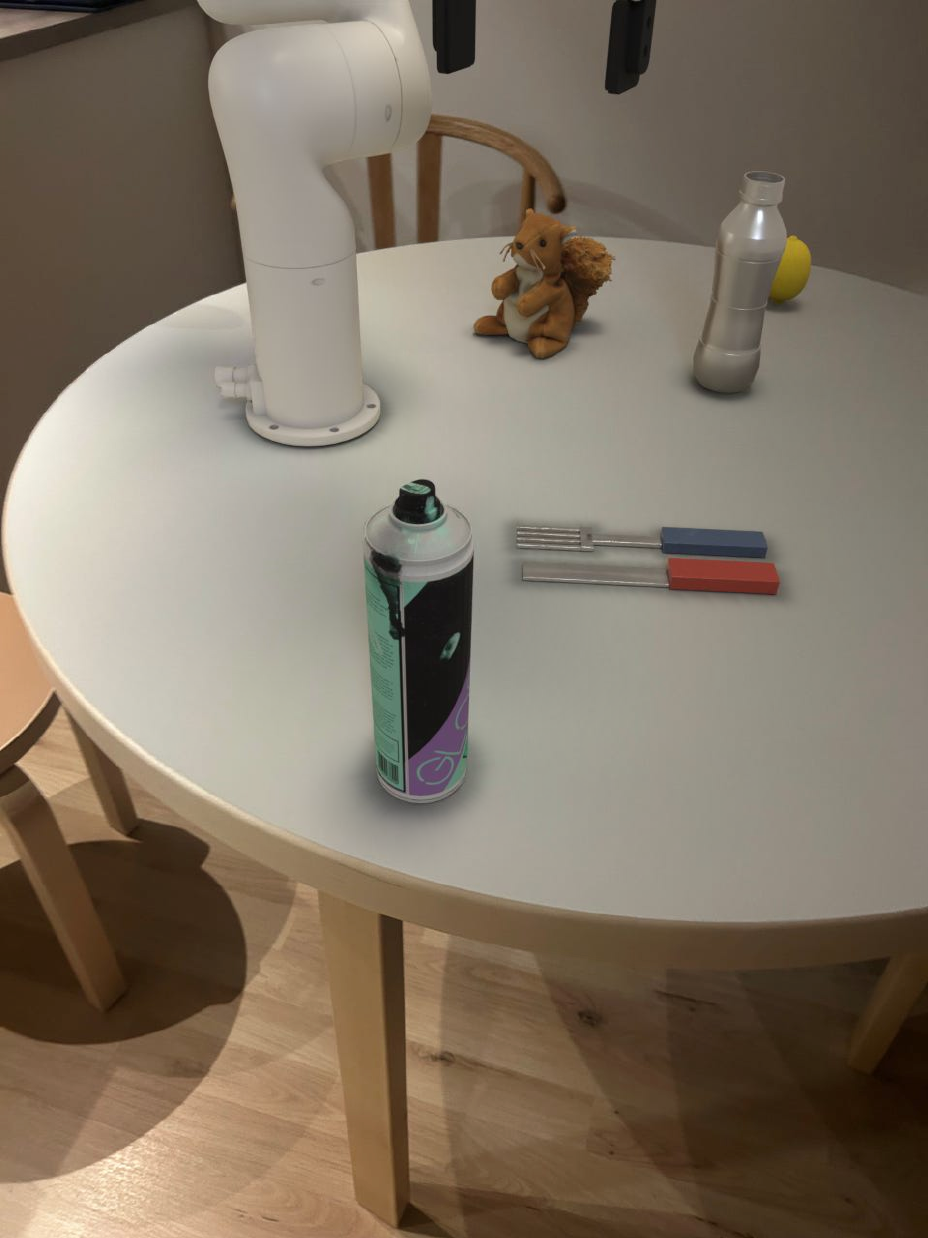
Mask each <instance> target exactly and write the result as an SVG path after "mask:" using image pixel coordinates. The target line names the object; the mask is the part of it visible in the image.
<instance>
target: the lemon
mask: <svg viewBox="0 0 928 1238" xmlns="http://www.w3.org/2000/svg"><path fill="white" fill-rule="evenodd" d="M811 271H812V255H811V251H810V249H809V248H808V246H807V244H806V243H805V242H803V241H802V240H801V239H798V237H797V236H796V235H790V236H789V237H787V244H786V248H785V251H784V254H783V256H782V259H781V262H780V265H779V267H778V270H777V273H776V275H775V278H774V281H773V284H772V287H771V291H770V295H769V298H768V299H771V300H772V301H773V304H775V305H781V304H783V303H784V302H786V301H787V302H788V301H790V300H793V299H794V298H796V297H797V296H799V295H800V294H801V293H802V292H803V290H804V289H805V288H806V285H807V283H808V281H809V278H810V275H811Z"/></svg>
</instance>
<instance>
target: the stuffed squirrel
mask: <svg viewBox="0 0 928 1238" xmlns="http://www.w3.org/2000/svg"><path fill="white" fill-rule="evenodd" d="M577 232H578V229H577V227H576V226H575V225H563V224H562V223H561V222H560V221H559V219H556V218H554V217H552V216H550V215H547V214H544V213H540V212H535V211H534V209H533V208H528V209H526V211H525V218H524V219H523V221H522V223H521V225H520V227H519V230H518V233H517V234H516V235H515V236H514V238H513V240H512V241H511V242H509V243H507V244H506V245H505V246H503V247H502V249H501V250H500V251H499V253H498V254H499V255H502V254H503V253H504V250H505V249H506V248H507V249H506V251H505V254H504V257H503V258H502V260H501V261H502V263H505V262H506V258H507V256H508V254H509V253H510V256H511V258H512V261H514V262H515V265H514V267H513V268H510V269H508V270H507V271H505V272H504V273H502V274H500V275H498V276H495V277H494V279H493V280H492V283H491V289H490V290H491V293H492V297H493V298H494V299H496V301H501V302H500V304H499V306H498V308H497V309H496V315H493V314H492V315H484V316H480V317H479V318H477V319H476V321H475V322H474V323H473V330H474V332H475V333H476V334H477V335H483V336H503V335H509V336H508V337H509V338H512V339H513V340H515V341H517V342H520V343H522V344H523V343H524V344H527V347H528V349H529V350H530V351H531V353H532V354H533V356H535V357H536V358H537V359H545V358H547V357H551V356H552V355H554V354H556V353H557V352H559V351H562V350H563V349H564V348H565V347H566V345H567V344H568V342H569V338H570V336H571V331H572V328H573V327H575V326H576V325H577V324H578V323H580V322H582V321H583V317H584V315H585V314H586V312H587V310H588V308H589V304H590V302H589V299H590V298H591V297H593V296H596V295H597V294H598V292H597V291H599V290H600V288H602V287H603V286H604V283H607V282H608V281H609V282H613V280H612V278H611V275H613V270H612V264H613V262H614V261H616V260H617V259H616V256H615V255H613V254H612V253H609V251H607V247H606V245H604V244H603V243H602V242H599V241H597V240H595V239H594V238H592V237H586V236H583V237H582V235H578V237H576V236H575V235H576V234H577Z"/></svg>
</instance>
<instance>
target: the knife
mask: <svg viewBox="0 0 928 1238" xmlns="http://www.w3.org/2000/svg"><path fill="white" fill-rule="evenodd" d="M522 581H532V582H534V581H535V582H552V583H571V584H572V583H573V584H574V583H575V584H591V585H593V584H594V585H615V586H630V587H631V586H632V587H633V586H634V587H650V588H651V587H653V588H655V587H656V588H669V589H670V590H682V591H683V590H684V591H705V592H706V591H707V592H726V593H745V594H763V595H764V594H766V595H777V593H778V590H779V587H780V585H781V581H780V578H779V574H778V572H777V568H776V566H775V563H774V562H763V561H745V560H744V561H742V560H741V561H740V560H723V559H722V560H721V559H703V558H702V559H701V558H683V557H682V558H681V557H668V559H667V564H666V567H664V568H663V567H646V566H645V567H643V566H625V565H624V566H623V565H603V564H586V563H585V564H584V563H583V564H581V563H562V562H545V561H543V562H541V561H522Z"/></svg>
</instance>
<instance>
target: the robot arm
mask: <svg viewBox="0 0 928 1238" xmlns="http://www.w3.org/2000/svg"><path fill="white" fill-rule="evenodd" d="M196 1H197V3H198V6H199V7H200V8H201V9H202V10H203V12H204V13H205V14H206V15H207V16H209V17H210V18H211V19H213V20H215V21H216V22H219V23H221V24H226V25H232V26H262V25H274V24H275V25H276V24H285V23H287V24H288V23H299V22H306V21H307V22H312V21H324V22H326V23H310V24H299V25H297V24H296V25H285V26H276V27H275V26H274V27H266V28H260V29H254V30H251V31H248V32H245V33H242V34H239V35H237V36H234V37H233V38H231V39H230V40H228V41H226V42H225V43H224V44H223V45H221V46H220V48H219V49H218V50H217V52H216V53H215V55H214V56H213V58H212V60H211V63H210V66H209V70H208V77H207V89H208V96H209V103H210V107H211V111H212V115H213V120H214V122H215V127H216V129H217V132H218V136H219V140H220V143H221V147H222V150H223V154H224V158H225V162H226V165H227V168H228V169H227V170H228V173H229V178H230V181H231V187H232V192H233V199H234V202H235V208H236V216H237V222H238V228H239V236H240V237H239V238H240V243H241V245H240V246H241V252H242V258H243V259H242V260H243V265H244V266H243V267H244V274H245V282H246V288H247V298H248V306H249V313H250V322H251V329H252V338H253V345H254V353H255V362H256V364H248V366H247V367H236V366H228V365H227V366H226V365H225V366H224V365H222V366H221V365H216V366H215V367H214V370H213V371H214V372H213V381H214V385H215V386H216V387H217V388H220V393H221V396H222V398H234V399H235V398H246V400H247V401H246V403H245V416H246V421H247V423H248V426H249V427H250V428H251V430H253V431H254V433H256V434H258V435H259V436H260V437H263V438H265V439H267V440H269V441H272V442H275V443H279V444H283V445H287V446H295V447H321V446H322V447H323V446H328V445H335V444H339V443H344V442H347V441H351V440H353V439H355V438H358V437H360V436H362V435H363V434H365V433H367V432H368V431H370V429H372V428H373V427H374V426H375V425H376V423H378V421H379V419H380V416H381V400H380V397H379V395H378V393H377V392H376V391H375V390H374V389H372V387H370V386H369V385H367V384H366V383H364V382H363V380H364V379H363V359H362V343H361V342H362V340H361V323H360V322H361V320H360V304H359V303H360V302H359V301H360V299H359V282H358V281H359V280H358V265H357V246H356V231H355V223H354V220H353V217H352V214H351V211H350V209H349V208H348V205H347V204H346V202H345V201H344V200H343V199H342V197H341V196H340V194H339V193H338V192H337V191H336V190H335V188H334V187H332V185H331V184H330V182H329V180H327V178H326V176H325V174H324V170H325V168H326V167H327V166H329V165H334V164H337V163H341V162H346V161H352V160H358V159H359V160H360V159H364V158H369V157H370V158H371V157H376V156H382V155H387V154H392V153H397V152H401V151H403V150H407V149H408V148H411V147H412V146H414V145H415V144H416V143H418V142H419V141H420V140H421V139H422V138H423V136H424V135H425V133H426V131H427V129H428V127H429V125H430V121H431V117H432V112H433V89H432V81H431V75H430V69H429V65H428V61H427V57H426V52H425V49H424V46H423V42H422V39H421V36H420V33H419V30H418V26H417V23H416V20H415V16H414V13H413V11H412V7H411V4H410V0H196ZM656 8H657V0H615V1H614V2H613V4H612V5H611V13H610V24H609V25H610V26H609V35H608V47H607V57H606V66H605V68H606V69H605V76H604V77H605V79H604V90H605V91H607V93H608V94H609V95H621V94H623V93H625V92H627V91H629V90H631V89H633V88H636V87H637V86H638V84H639V81H640V77H641V76H642V75H645V73H646V72H647V70H648V68H649V64H650V61H651V60H650V59H651V51H652V43H653V34H654V25H655V17H656ZM431 9H432V10H431V17H432V19H431V21H432V23H431V27H432V32H431V33H432V35H431V36H432V47H433V50H434V52H436V71H437V73H438V74H443V75H450V74H453V73H456V72H459V71H462V70H465V69H468V68H470V67H471V66H473V65H474V64H475V62H476V34H477V33H476V32H477V31H476V30H477V0H431Z"/></svg>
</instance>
